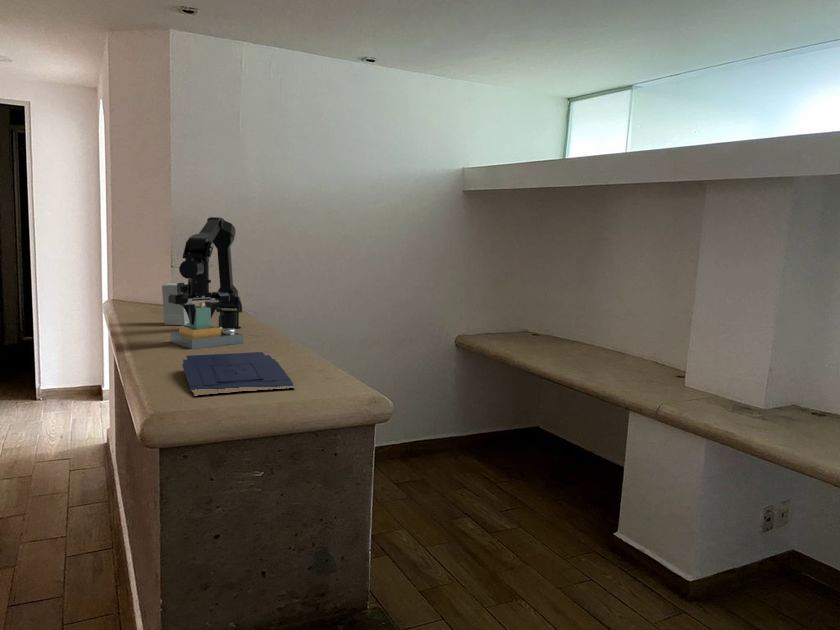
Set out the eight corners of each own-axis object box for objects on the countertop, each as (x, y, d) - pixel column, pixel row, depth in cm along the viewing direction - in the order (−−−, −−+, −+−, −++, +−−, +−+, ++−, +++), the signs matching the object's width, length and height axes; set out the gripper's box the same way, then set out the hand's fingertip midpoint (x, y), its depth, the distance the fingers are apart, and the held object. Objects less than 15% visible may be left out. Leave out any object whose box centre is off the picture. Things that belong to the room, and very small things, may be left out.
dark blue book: (268, 360, 186) (269, 348, 185) (296, 399, 160) (297, 385, 159) (178, 365, 175) (178, 352, 175) (192, 407, 149) (192, 393, 149)
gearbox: (220, 336, 227) (220, 321, 226) (243, 343, 217) (243, 327, 216) (170, 341, 214) (170, 325, 214) (192, 349, 204) (191, 331, 203)
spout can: (203, 329, 217) (203, 301, 215) (210, 331, 213) (210, 303, 212) (189, 331, 213) (188, 302, 212) (196, 333, 210) (196, 304, 208)
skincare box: (191, 323, 253) (191, 283, 251) (183, 326, 246) (182, 284, 244) (170, 322, 254) (170, 282, 252) (162, 325, 247) (161, 283, 245)
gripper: (213, 273, 223) (214, 318, 225) (160, 275, 210) (161, 322, 212) (230, 276, 215) (230, 322, 217) (176, 277, 202) (176, 327, 204)
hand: (200, 323), depth 213 cm, fingers closed on spout can, 5 cm apart
